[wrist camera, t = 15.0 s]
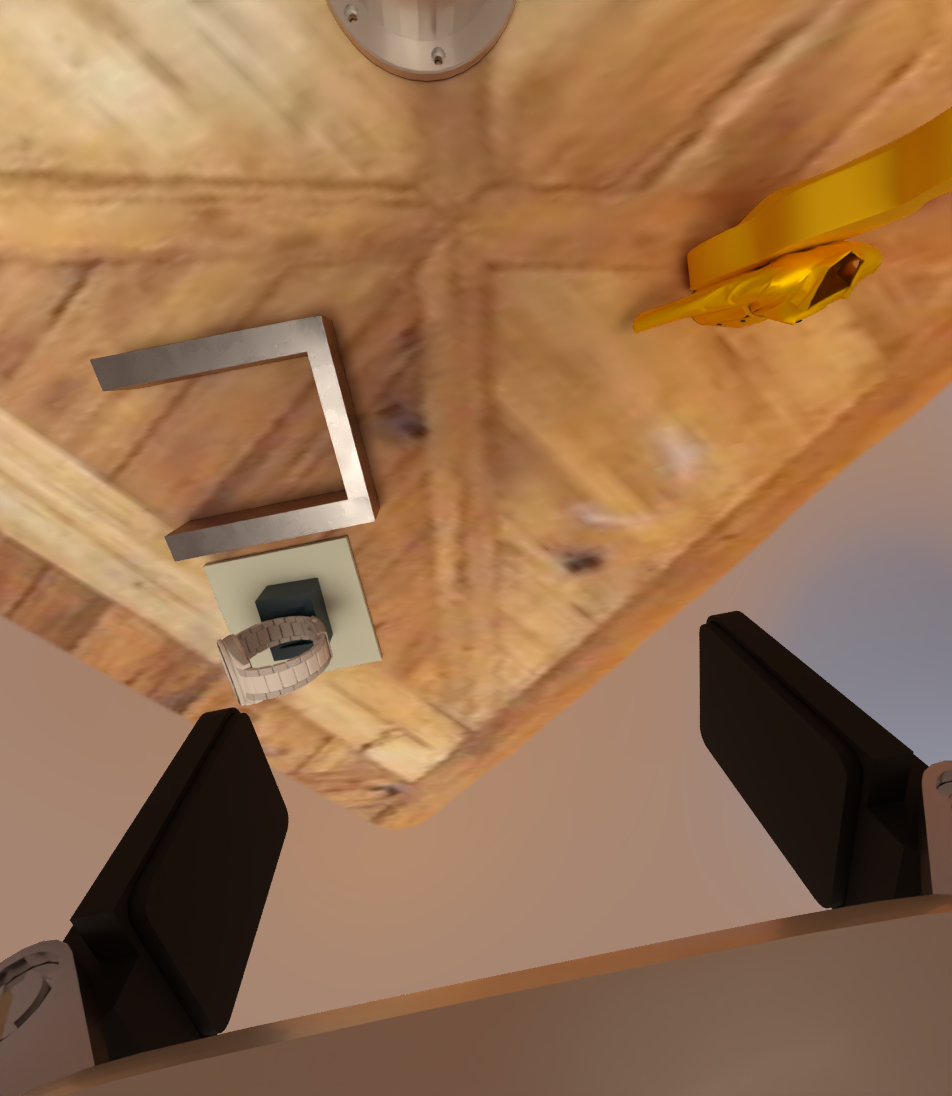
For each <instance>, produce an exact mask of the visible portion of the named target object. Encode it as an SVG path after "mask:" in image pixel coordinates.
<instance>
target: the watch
mask: <svg viewBox="0 0 952 1096" xmlns="http://www.w3.org/2000/svg"><path fill="white" fill-rule="evenodd" d="M255 604H256V607H257V610H258V613H259V616H260V619H261V624H260V623H259V624H256V625H253V626H251V627H249V628H247V629H245V630H243V631H241V632H239V633H238V634H236V635H234V634H231V635H229V636H227V637H225V638H224V639H223V640H221V639H220V640H217V645H218V650H219V653H220V656H221V659H222V662H223V665H224V667H225V670H226V673H227V675H228V678H229V681H230V683H231V686H232V688H233V691H234V693H235V696H236V698H237V700H238V701H239V703H240V705H241V706H243V705H251V704H257V703H260V702H262V701H263V700H264V699H267V698H268V699H271V698H275V697H278V696H281V695H285V694H288V693H290V692H293V691H294V690H297V689H299V688H301V687H303V686H305V685H307V684H308V683H309V682H311V681H313V680H314V679H315V678H317V677H318V675H320V674H321V673H322V672H323V671H324V670H325V669H326V668H327V667H328V665H329V663H330V661H331V659H332V658H333V653H332V650H331V646H330V641H331V639H332V636H333V632H332V628H331V625H330V621H329V617H328V614H327V610H326V606H325V602H324V599H323V595H322V591H321V588H320V584H319V580H318V578H311V579H305V580H299V581H293V582H287V583H281V584H274V585H268V586H266V587H265V589H264V590H263V591H262V593H261V594H260V595H259V597H258V598H257V599H256V601H255ZM261 626H262V627H261ZM255 634H256V635H255ZM256 637H257V638H256ZM257 640H258V641H257ZM258 643H259V644H258ZM267 644H268V645H267ZM268 647H269V648H270V650H271V653H272V657H273V660H274V661H280V660H286V659H289V660H287V661H286V662H287V663H286V662H285V661H284V662H281V663H277V664H274V665H273V666H271V665H270V666H264V667H260V668H259V669H258V668H253V667H252V665H251V662H250V660H249V659H251V658H252V657H254V656H255V655H257V653H260V652H262V651H264V650H266V649H268ZM287 665H288V666H287ZM293 669H294V670H293ZM294 672H295V673H294ZM279 674H280V675H279ZM295 675H296V677H295ZM280 677H281V678H280ZM296 679H297V680H296ZM281 680H282V681H281ZM307 682H308V683H307ZM282 683H283V685H282ZM294 687H295V689H294Z"/></svg>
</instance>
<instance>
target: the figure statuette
mask: <svg viewBox="0 0 952 1096" xmlns="http://www.w3.org/2000/svg"><path fill="white" fill-rule="evenodd" d="M950 191H952V107H951V108H950V109H948V110H946V111H945V112H943V113H941V114H940V115H938V116H937V117H935V118H934V119H932V120H931V121H929V122H927V123H925V124H924V125H922V126H920V127H918V128H917V129H915V130H913V131H911V132H910V133H908V134H906V135H904V136H902V137H900V138H898V139H896V140H894V141H892V142H890V143H888V144H886V145H884V146H882V147H880V148H878V149H875V150H873V151H871V152H869V153H867V154H865V155H863V156H861V157H859V158H856V159H854V160H852V161H850V162H848V163H846V164H844V165H842V166H840V167H838V168H836V169H833V170H831V171H828V172H826V173H823V174H820V175H818V176H815V177H812V178H809V179H807V180H804V181H801V182H799V183H796V184H793V185H791V186H787V187H784V188H781V189H779V190H777V191H775V192H773V193H771V194H770V195H768V196H767V197H765V198H764V199H763V200H762V201H761V202H760V203H759V204H758V205H757V206H756V207H755V208H754V209H753V210H752V211H751V212H750V213H749V214H748V215H747V216H746V217H745V218H744V219H743V220H742V221H741V222H740V223H739V224H738V225H737V226H735V227H733V228H731V229H729V230H726V231H724V232H722V233H720V234H718V235H716V236H714V237H712V238H710V239H708V240H707V241H705V242H703V243H701V244H700V245H698V246H696V247H695V248H694V249H692V250H691V251H690V252H689V253H688V254H687V261H688V270H689V280H690V289H691V290H695V292H694V293H693V294H691V295H689V296H687V297H684V298H682V299H680V300H677V301H674V302H671V303H669V304H666V305H663V306H660V307H657V308H654V309H651V310H649V311H646V312H643V313H641V314H639V315H638V316H637V318H636V319H635V320H634V321H633V330H634V332H635V333H638V332H641V331H644V330H647V329H650V328H653V327H656V326H659V325H662V324H666V323H669V322H672V321H676V320H678V319H681V318H686V317H691V316H692V317H693V318H694V320H695V321H696V322H698V323H699V324H701V325H712V326H725V327H735V328H739V327H744V326H748V325H752V324H755V323H759V322H761V321H764V320H767V319H771V320H774V321H779V322H782V323H786V324H791V325H793V324H794V323H795V322H796V323H798V322H801V321H802V319H804V318H806V317H808V316H811V315H813V314H815V313H817V312H818V311H820V310H822V309H824V308H825V307H826V306H827V305H828V304H830V303H832V302H835V301H837V300H839V299H847V298H848V297H849V295H850V294H851V292H852V291H853V289H854V287H855V286H856V284H857V282H859V281H861V280H862V279H864V278H865V277H866V276H868V275H869V274H873V273H875V272H876V271H877V269H878V268H879V267H880V266H881V263H882V260H883V258H882V252H881V251H880V250H879V249H878V248H876V247H875V246H874V245H872V244H869V245H867V244H864V243H860V242H855V241H844V240H846V239H849V238H851V237H854V236H856V235H859V234H862V233H864V232H867V231H870V230H872V229H875V228H878V227H880V226H883V225H886V224H888V223H891V222H893V221H896V220H899V219H901V218H903V217H906V216H908V215H910V214H912V213H914V212H916V211H917V210H918V209H919V208H920V207H921V206H922V205H923V204H924V203H926V202H927V201H929V200H931V199H933V198H935V197H937V196H940V195H942V194H945V193H948V192H950ZM856 260H860V261H859V265H858V267H857V268H856V267H855V266H854V265H853V261H856Z"/></svg>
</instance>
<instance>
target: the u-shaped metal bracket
mask: <svg viewBox="0 0 952 1096" xmlns="http://www.w3.org/2000/svg"><path fill="white" fill-rule="evenodd" d="M303 356H308V357H309V361H310V364H311V368H312V372H313V375H314V379H315V382H316V386H317V389H318V393H319V397H320V400H321V404H322V407H323V411H324V414H325V418H326V421H327V425H328V429H329V432H330V436H331V439H332V443H333V446H334V450H335V454H336V457H337V461H338V464H339V468H340V471H341V475H342V479H343V482H344V486H345V489H346V490H343V491H338V492H333V493H328V494H323V495H318V496H313V497H308V498H303V499H298V500H293V501H288V502H283V503H278V504H273V505H268V506H263V507H258V508H253V509H248V510H243V511H238V512H233V513H228V514H223V515H218V516H213V517H208V518H203V519H198V520H193V521H189V522H187V523H185V524H184V525H182V526H181V527H179V528H177V529H176V530H174V531H173V532H171V533H169V534H168V535H166V536H165V539H166V541H167V544H168V546H169V549H170V551H171V553H172V556H173V558H174V560H175V561H180V560H185V559H190V558H195V557H199V556H204V555H209V554H214V553H219V552H224V551H229V550H234V549H239V548H244V547H249V546H254V545H259V544H264V543H269V542H274V541H279V540H284V539H289V538H294V537H299V536H304V535H309V534H314V533H318V532H323V531H328V530H333V529H338V528H343V527H348V526H353V525H358V524H363V523H368V522H373V521H375V520H376V517H377V514H378V512H379V509H380V505H379V501H378V498H377V494H376V490H375V486H374V482H373V478H372V474H371V471H370V467H369V463H368V459H367V455H366V451H365V447H364V444H363V440H362V436H361V432H360V428H359V424H358V421H357V417H356V413H355V409H354V405H353V401H352V397H351V394H350V390H349V386H348V382H347V378H346V374H345V370H344V367H343V363H342V359H341V355H340V351H339V347H338V343H337V340H336V336H335V332H334V328H333V324H332V321H331V320H329V319H327V318H325V317H323V316H321V315H318V316H313V317H308V318H302V319H297V320H292V321H287V322H282V323H277V324H272V325H266V326H261V327H256V328H251V329H246V330H241V331H235V332H230V333H225V334H220V335H215V336H210V337H204V338H199V339H194V340H189V341H184V342H179V343H173V344H168V345H163V346H158V347H153V348H148V349H143V350H137V351H132V352H127V353H122V354H117V355H112V356H106V357H101V358H96V359H91V360H90V361H91V364H92V366H93V369H94V371H95V373H96V376H97V378H98V380H99V383H100V385H101V387H102V390H103V391H115V390H130V389H139V388H144V387H149V386H154V385H160V384H165V383H170V382H175V381H180V380H185V379H190V378H195V377H201V376H206V375H211V374H216V373H221V372H226V371H231V370H236V369H242V368H247V367H252V366H257V365H262V364H267V363H272V362H277V361H283V360H288V359H293V358H298V357H303Z"/></svg>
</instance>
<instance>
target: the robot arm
mask: <svg viewBox="0 0 952 1096" xmlns="http://www.w3.org/2000/svg"><path fill="white" fill-rule="evenodd" d="M515 2H516V0H327V3H328V6H329V8H330V9H331V11H332V13H333V15H334V17H335V18H336V20H337V22H338V24H339V26H340V27H341V29H342V30H343V31H344V33H345V34H346V35H347V36H348V38H349V39H350V40H351V42H352V43H353V44H354V45H355V47H356V48H357V49H359V50H360V51H361V52H362V53H363V54H364V55H365V56H366V57H367V58H369V59H370V60H371V61H372V62H373V63H375V64H377V65H378V66H380V67H382V68H383V69H385V70H387V71H388V72H390V73H393V74H396V75H398V76H401V77H404V78H407V79H413V80H422V81H432V80H440V79H446V78H449V77H451V76H454V75H457V74H459V73H462V72H464V71H465V70H467V69H468V68H470V67H471V66H473V65H474V64H476V63H477V62H479V61H480V60H481V59H482V58H483V57H484V56H485V55H486V54H487V53H488V51H489V50H490V49H491V48H492V47H493V46H494V45H495V43H496V42H497V40H498V38H499V37H500V35H501V34H502V32H503V31H504V29H505V27H506V25H507V23H508V20H509V18H510V16H511V13H512V11H513V9H514V6H515ZM352 18H355V19H356V20H357V21H355V22H354V23H352V22H350V20H351V19H352ZM436 60H440V61H441V62H442V64H441V65H436V64H435V63H434V62H435V61H436ZM699 637H700V639H699V640H700V731H701V736H702V738H703V741H704V743H705V745H706V747H707V748H708V749H709V751H710V752H711V754H712V755H713V757H714V758H715V759H716V761H717V762H718V764H719V765H720V766H721V768H722V769H723V771H724V772H725V774H726V775H727V776H728V778H729V779H730V781H731V782H732V783H733V785H734V786H735V788H736V789H737V790H738V792H739V793H740V794H741V796H742V797H743V799H744V800H745V802H746V803H747V804H748V806H749V807H750V809H751V810H752V811H753V813H754V814H755V816H756V817H757V818H758V820H759V821H760V822H761V824H762V825H763V827H764V828H765V830H766V831H767V832H768V834H769V835H770V837H771V838H772V839H773V841H774V842H775V844H776V845H777V846H778V848H779V849H780V851H781V852H782V853H783V855H784V856H785V858H786V859H787V860H788V862H789V863H790V865H791V866H792V867H793V869H794V870H795V871H796V873H797V874H798V876H799V877H800V879H801V880H802V882H803V883H804V884H805V886H806V887H807V888H808V890H809V891H810V893H811V894H812V896H813V897H814V898H815V899H816V900H817V902H818V903H819V904H820V905H821V906H822V907H824V908H832V910H826V911H821V912H815V913H809V914H804V915H799V916H792V917H787V918H781V919H776V920H770V921H766V922H760V923H755V924H751V925H745V926H741V927H735V928H730V929H725V930H720V931H716V932H710V933H705V934H700V935H695V936H690V937H685V938H680V939H675V940H670V941H665V942H660V943H655V944H650V945H645V946H640V947H635V948H630V949H625V950H620V951H615V952H610V953H605V954H600V955H595V956H590V957H585V958H580V959H576V960H571V961H566V962H561V963H556V964H551V965H547V966H541V967H537V968H532V969H527V970H522V971H517V972H512V973H507V974H502V975H497V976H493V977H488V978H483V979H478V980H473V981H469V982H464V983H459V984H454V985H449V986H444V987H440V988H434V989H430V990H425V991H420V992H415V993H411V994H406V995H401V996H396V997H392V998H387V999H382V1000H377V1001H373V1002H368V1003H364V1004H358V1005H354V1006H349V1007H344V1008H340V1009H335V1010H330V1011H326V1012H321V1013H316V1014H311V1015H307V1016H302V1017H298V1018H293V1019H288V1020H283V1021H278V1022H274V1023H269V1024H264V1025H260V1026H255V1027H250V1028H246V1029H242V1030H237V1031H233V1032H228V1033H224V1034H220V1035H217V1034H218V1033H222V1032H223V1031H224V1030H225V1028H226V1027H227V1025H228V1023H229V1020H230V1018H231V1014H232V1011H233V1007H234V1004H235V1001H236V998H237V994H238V991H239V988H240V985H241V981H242V978H243V975H244V971H245V968H246V965H247V961H248V958H249V955H250V952H251V948H252V945H253V941H254V938H255V935H256V931H257V928H258V925H259V922H260V918H261V915H262V912H263V909H264V905H265V902H266V899H267V895H268V892H269V889H270V885H271V882H272V879H273V875H274V872H275V869H276V865H277V862H278V859H279V856H280V852H281V849H282V846H283V843H284V839H285V835H286V832H287V829H288V812H287V808H286V806H285V804H284V801H283V798H282V796H281V794H280V791H279V789H278V786H277V784H276V781H275V779H274V776H273V774H272V771H271V769H270V767H269V764H268V762H267V759H266V757H265V754H264V752H263V749H262V747H261V744H260V742H259V740H258V737H257V735H256V732H255V730H254V727H253V725H252V722H251V720H250V718H249V716H248V715H247V714H246V713H240V712H239V710H238V709H236V708H233V707H232V708H227V709H222V710H217V711H212V712H206V713H204V714H203V715H202V716H201V717H200V718H199V720H198V721H197V723H196V724H195V726H194V727H193V729H192V731H191V732H190V734H189V735H188V737H187V738H186V740H185V742H184V743H183V745H182V746H181V748H180V749H179V751H178V752H177V754H176V756H175V757H174V759H173V760H172V762H171V763H170V765H169V766H168V768H167V769H166V771H165V773H164V774H163V776H162V777H161V779H160V780H159V782H158V784H157V785H156V787H155V788H154V790H153V791H152V793H151V794H150V796H149V797H148V799H147V801H146V802H145V804H144V805H143V807H142V808H141V810H140V812H139V813H138V815H137V816H136V818H135V819H134V821H133V823H132V824H131V826H130V827H129V829H128V830H127V832H126V833H125V835H124V836H123V838H122V840H121V841H120V843H119V844H118V846H117V847H116V849H115V850H114V852H113V854H112V855H111V857H110V858H109V860H108V861H107V863H106V864H105V866H104V868H103V869H102V871H101V872H100V874H99V876H98V877H97V879H96V880H95V882H94V883H93V885H92V886H91V888H90V890H89V891H88V893H87V894H86V896H85V897H84V899H83V900H82V902H81V904H80V905H79V907H78V908H77V910H76V911H75V913H74V915H73V916H72V918H71V919H70V921H71V922H72V924H73V926H72V928H71V929H70V931H69V933H68V934H67V936H66V937H65V939H64V940H63V942H62V941H59V940H50V941H42V942H39V943H37V944H34V945H31V946H29V947H26V948H24V949H22V950H21V951H19V952H17V953H15V954H14V955H12V956H10V957H9V958H7V959H5V960H4V961H3V962H1V963H0V1096H952V761H943V762H939V763H936V764H932V765H931V766H930V767H929V766H927V765H926V764H925V763H924V762H922V761H921V760H920V759H919V758H918V757H916V756H915V755H914V754H913V751H911V749H909V748H908V747H907V746H906V745H904V744H903V743H902V742H901V741H899V740H898V739H897V738H896V737H895V736H893V735H892V734H891V733H890V732H888V731H887V730H886V729H884V728H883V727H882V726H881V725H880V724H878V723H877V722H876V721H875V720H874V719H872V718H871V717H870V716H869V715H867V714H866V713H865V712H864V711H862V710H861V709H860V708H859V707H857V706H856V705H855V704H854V703H853V702H851V701H850V700H849V699H848V698H846V697H845V696H844V695H843V694H842V693H840V692H839V691H838V690H837V689H835V688H834V687H833V686H832V685H830V684H829V683H828V682H826V680H824V679H823V678H822V677H821V676H819V675H818V674H817V673H816V672H815V671H813V670H812V669H811V668H809V667H808V666H807V665H806V664H805V663H803V662H802V661H801V660H800V659H798V658H797V657H796V656H795V655H793V654H792V653H791V652H790V651H789V650H787V649H786V648H785V647H784V646H782V645H781V644H780V643H779V642H778V641H776V640H775V639H774V638H773V637H771V636H770V635H769V634H768V633H766V632H765V631H764V630H763V629H762V628H760V627H759V626H758V625H757V624H755V623H754V622H753V621H752V620H750V619H749V618H748V617H747V616H745V615H744V614H743V613H741V612H740V611H733V612H728V613H723V614H717V615H712V616H710V617H708V619H707V623H706V624H703V625H701V627H700V632H699Z"/></svg>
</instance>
